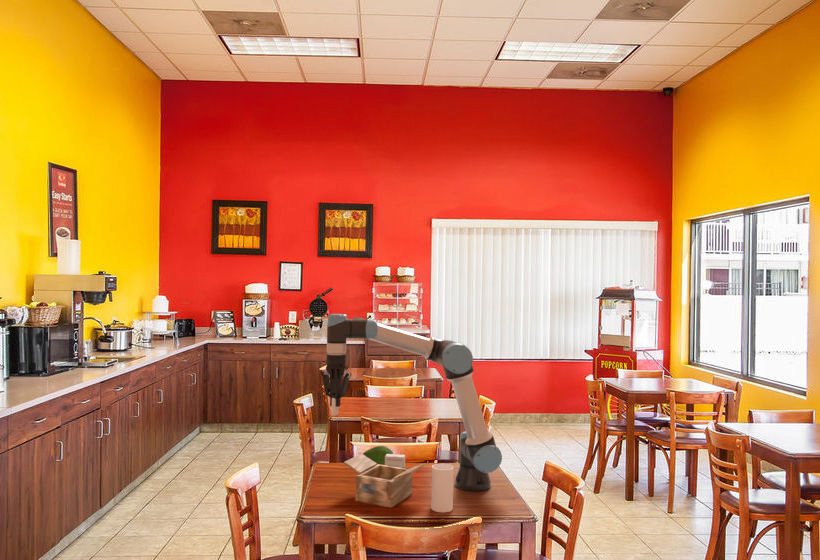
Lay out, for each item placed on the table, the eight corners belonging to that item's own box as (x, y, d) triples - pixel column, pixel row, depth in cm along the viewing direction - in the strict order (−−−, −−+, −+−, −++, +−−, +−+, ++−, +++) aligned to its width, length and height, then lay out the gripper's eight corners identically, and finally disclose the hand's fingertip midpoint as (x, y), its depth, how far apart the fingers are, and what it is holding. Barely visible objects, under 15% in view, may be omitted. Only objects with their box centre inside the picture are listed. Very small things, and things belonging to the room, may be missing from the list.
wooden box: (412, 493, 254) (413, 469, 255) (390, 508, 237) (391, 482, 237) (378, 487, 261) (378, 463, 261) (354, 501, 244) (355, 476, 244)
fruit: (360, 470, 285) (361, 448, 285) (362, 464, 295) (362, 443, 295) (393, 470, 285) (394, 449, 286) (393, 464, 295) (394, 443, 295)
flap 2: (409, 470, 252) (426, 464, 249) (393, 479, 240) (411, 474, 237) (409, 468, 252) (425, 463, 249) (393, 477, 240) (410, 472, 237)
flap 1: (376, 463, 259) (361, 453, 262) (360, 472, 246) (344, 461, 249) (376, 464, 259) (361, 455, 262) (359, 473, 246) (343, 463, 250)
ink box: (405, 481, 271) (405, 454, 271) (403, 485, 266) (404, 457, 266) (385, 480, 271) (386, 453, 271) (384, 483, 266) (384, 456, 267)
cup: (430, 504, 242) (430, 463, 242) (450, 504, 243) (451, 463, 243) (432, 512, 234) (433, 469, 234) (454, 512, 235) (455, 469, 235)
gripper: (355, 354, 242) (354, 414, 242) (327, 351, 248) (326, 411, 247) (345, 355, 235) (344, 418, 235) (316, 353, 241) (315, 414, 241)
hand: (334, 414), depth 241 cm, fingers closed
